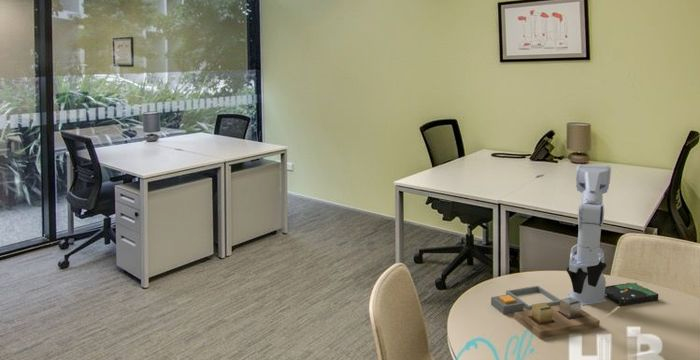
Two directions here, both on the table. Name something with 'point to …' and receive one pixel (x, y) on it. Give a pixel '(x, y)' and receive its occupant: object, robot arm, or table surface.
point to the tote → (530, 290)
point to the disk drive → (629, 294)
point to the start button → (507, 299)
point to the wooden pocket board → (556, 323)
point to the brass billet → (542, 313)
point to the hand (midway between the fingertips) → (584, 289)
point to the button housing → (507, 305)
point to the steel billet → (570, 308)
